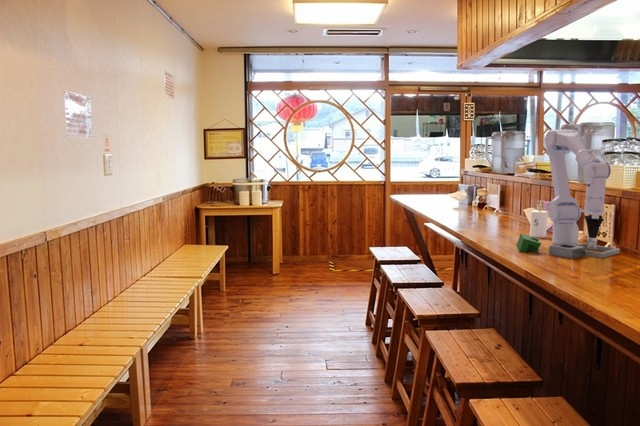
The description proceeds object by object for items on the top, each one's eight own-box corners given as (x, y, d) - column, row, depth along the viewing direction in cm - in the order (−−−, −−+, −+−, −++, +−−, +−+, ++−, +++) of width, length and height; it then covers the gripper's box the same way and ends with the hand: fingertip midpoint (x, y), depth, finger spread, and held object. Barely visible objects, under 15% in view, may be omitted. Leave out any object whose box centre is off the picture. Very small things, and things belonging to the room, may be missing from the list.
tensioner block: (561, 254, 172) (562, 243, 172) (584, 258, 166) (585, 246, 165) (548, 257, 168) (549, 245, 167) (571, 261, 161) (572, 249, 161)
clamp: (532, 266, 173) (541, 246, 168) (515, 261, 174) (523, 241, 169) (533, 248, 182) (541, 228, 177) (516, 243, 184) (524, 223, 179)
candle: (527, 236, 208) (529, 200, 206) (532, 234, 212) (534, 199, 210) (543, 238, 203) (545, 201, 201) (548, 235, 208) (550, 200, 206)
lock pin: (586, 247, 172) (587, 227, 172) (596, 247, 171) (597, 227, 170) (586, 248, 170) (587, 228, 169) (596, 249, 168) (598, 229, 168)
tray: (582, 249, 180) (582, 243, 179) (619, 256, 169) (619, 249, 169) (563, 254, 172) (563, 247, 172) (600, 260, 162) (601, 253, 162)
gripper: (580, 195, 176) (578, 232, 178) (582, 199, 163) (580, 239, 165) (603, 196, 173) (600, 234, 175) (607, 200, 160) (604, 241, 162)
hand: (592, 236), depth 170 cm, fingers closed on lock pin, 3 cm apart
